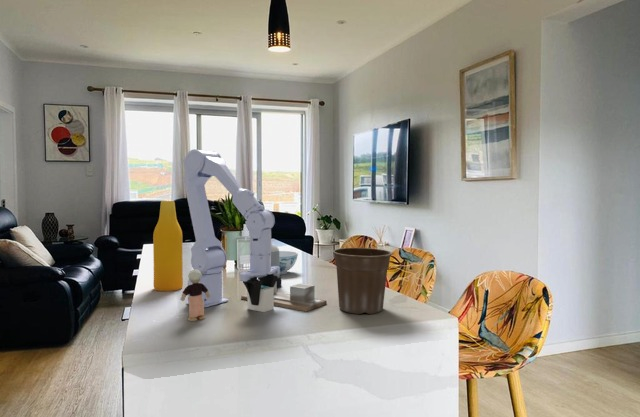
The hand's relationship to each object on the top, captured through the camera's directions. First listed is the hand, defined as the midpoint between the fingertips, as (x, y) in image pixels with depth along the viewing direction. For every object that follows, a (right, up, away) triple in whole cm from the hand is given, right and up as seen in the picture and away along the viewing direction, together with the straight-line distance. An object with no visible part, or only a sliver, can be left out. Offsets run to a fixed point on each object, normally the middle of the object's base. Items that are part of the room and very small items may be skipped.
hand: (260, 303), depth 125 cm
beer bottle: (-34, -1, +25) cm, 42 cm away
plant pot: (+28, -2, +1) cm, 28 cm away
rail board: (+6, -1, +8) cm, 10 cm away
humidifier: (-1, -1, +29) cm, 29 cm away
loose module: (0, -2, 0) cm, 2 cm away
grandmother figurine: (-15, -2, -10) cm, 18 cm away
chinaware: (0, 0, +54) cm, 54 cm away
